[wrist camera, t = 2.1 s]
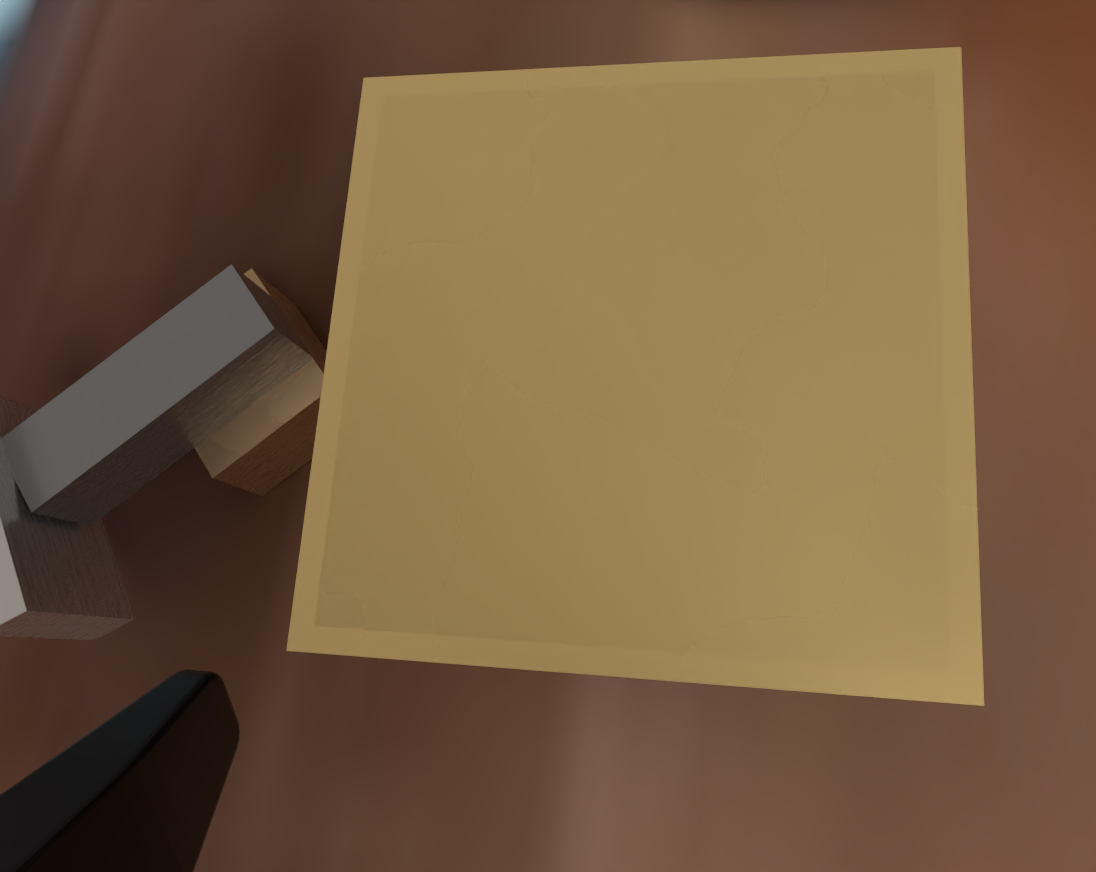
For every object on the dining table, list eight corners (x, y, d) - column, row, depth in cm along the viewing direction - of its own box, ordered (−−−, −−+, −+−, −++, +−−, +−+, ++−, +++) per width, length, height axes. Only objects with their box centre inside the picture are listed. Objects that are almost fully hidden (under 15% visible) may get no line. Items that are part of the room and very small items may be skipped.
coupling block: (809, 679, 18) (984, 706, 6) (565, 660, 19) (286, 650, 7) (811, 438, 20) (960, 46, 7) (580, 431, 21) (363, 77, 8)
